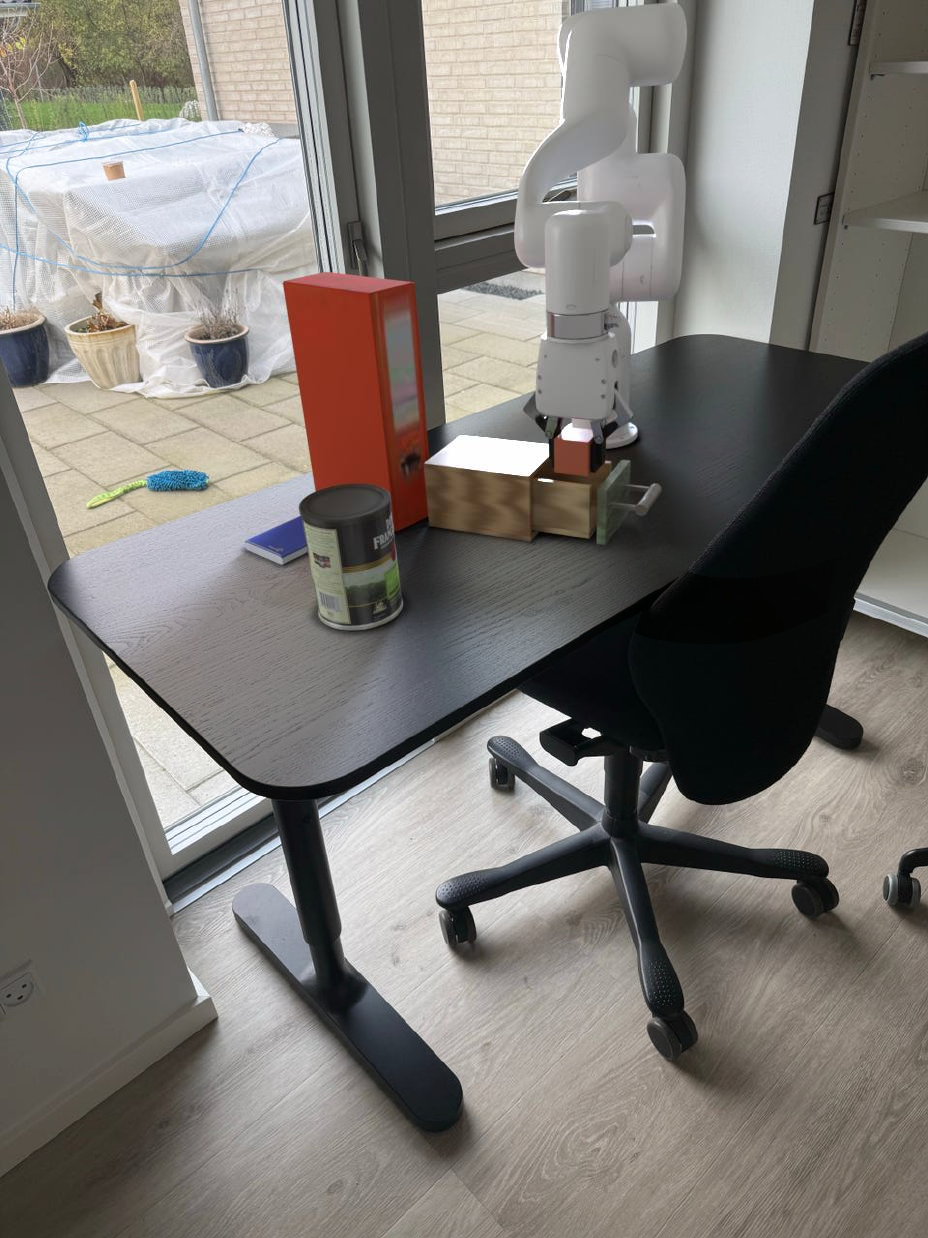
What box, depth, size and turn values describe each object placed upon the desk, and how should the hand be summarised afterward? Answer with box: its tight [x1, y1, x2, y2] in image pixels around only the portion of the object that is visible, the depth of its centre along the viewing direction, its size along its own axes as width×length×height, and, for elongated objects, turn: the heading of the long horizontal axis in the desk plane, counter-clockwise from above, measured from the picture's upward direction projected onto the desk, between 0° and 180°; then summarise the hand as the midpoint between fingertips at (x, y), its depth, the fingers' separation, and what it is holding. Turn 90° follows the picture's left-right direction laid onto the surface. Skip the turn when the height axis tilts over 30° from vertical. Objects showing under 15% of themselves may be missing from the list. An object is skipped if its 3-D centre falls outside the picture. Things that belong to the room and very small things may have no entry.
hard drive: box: [244, 515, 308, 566], centre depth 121 cm, size 2×8×12 cm
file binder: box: [282, 271, 430, 532], centre depth 121 cm, size 8×17×32 cm, turn 47°
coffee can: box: [298, 483, 404, 632], centre depth 101 cm, size 10×10×14 cm
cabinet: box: [424, 434, 550, 542], centre depth 121 cm, size 15×11×9 cm
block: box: [554, 426, 593, 476], centre depth 113 cm, size 5×5×5 cm
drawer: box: [530, 459, 663, 546], centre depth 116 cm, size 19×10×8 cm, turn 64°
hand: (577, 465), depth 114 cm, fingers closed on block, 4 cm apart
